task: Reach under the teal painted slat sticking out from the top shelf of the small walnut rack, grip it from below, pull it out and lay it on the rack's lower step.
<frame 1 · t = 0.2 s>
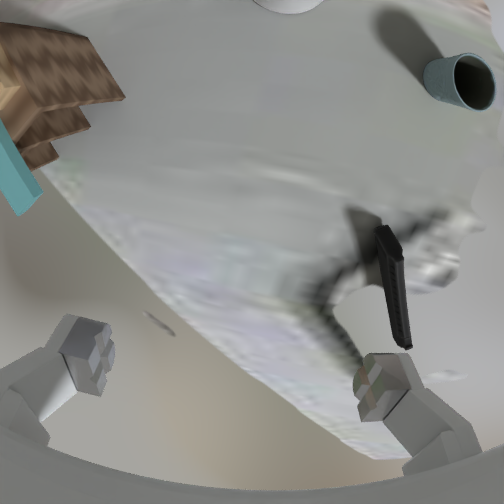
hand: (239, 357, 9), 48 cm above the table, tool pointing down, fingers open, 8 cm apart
magazine: (388, 282, 65), on the table
rack: (68, 99, 46), on the table
blue grey cup: (439, 80, 44), on the table
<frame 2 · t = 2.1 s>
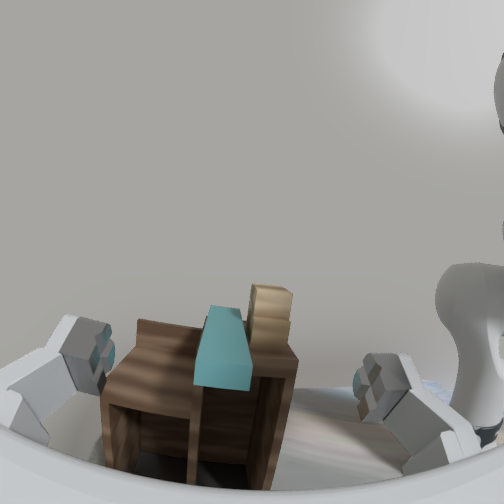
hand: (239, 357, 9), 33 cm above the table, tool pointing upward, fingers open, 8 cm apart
rack: (189, 484, 36), on the table
slat: (222, 344, 32), point 26 cm above the table, touching rack
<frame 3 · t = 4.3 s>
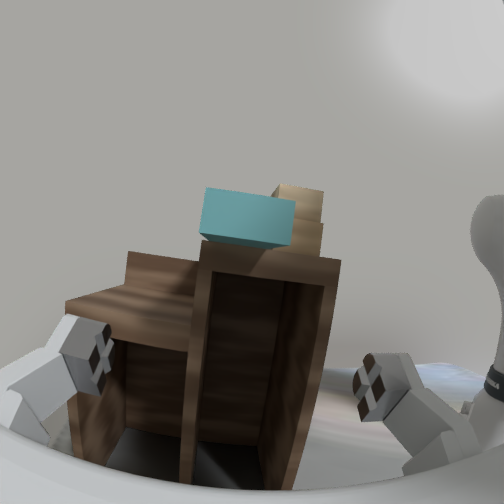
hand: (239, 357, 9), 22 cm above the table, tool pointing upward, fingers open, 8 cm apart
rack: (185, 469, 29), on the table
slat: (236, 246, 24), point 26 cm above the table, touching rack
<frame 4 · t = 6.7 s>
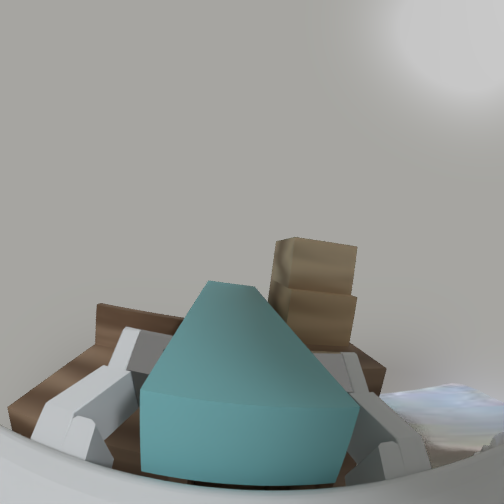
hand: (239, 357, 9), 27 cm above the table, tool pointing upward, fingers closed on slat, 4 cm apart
slat: (230, 341, 16), point 26 cm above the table, touching gripper, rack
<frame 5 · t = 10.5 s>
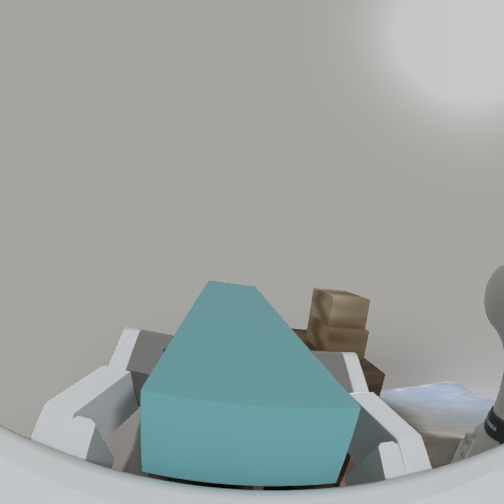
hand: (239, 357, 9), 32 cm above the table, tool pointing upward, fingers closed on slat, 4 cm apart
slat: (230, 341, 16), point 30 cm above the table, touching gripper
when the fingers open (23 cm above the table, at t = 14.3 s): slat drops 1 cm, resting on rack.
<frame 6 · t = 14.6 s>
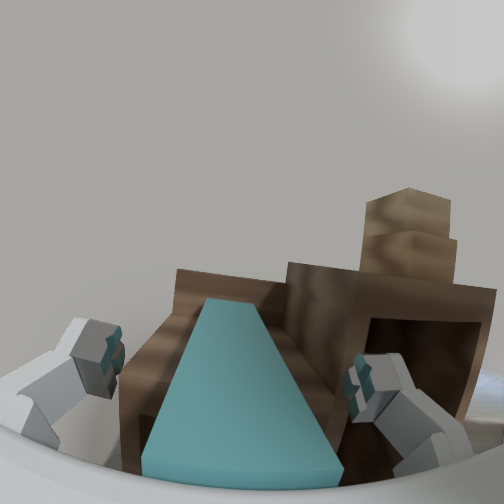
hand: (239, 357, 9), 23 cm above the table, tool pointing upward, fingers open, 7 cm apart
slat: (228, 368, 16), point 20 cm above the table, touching rack
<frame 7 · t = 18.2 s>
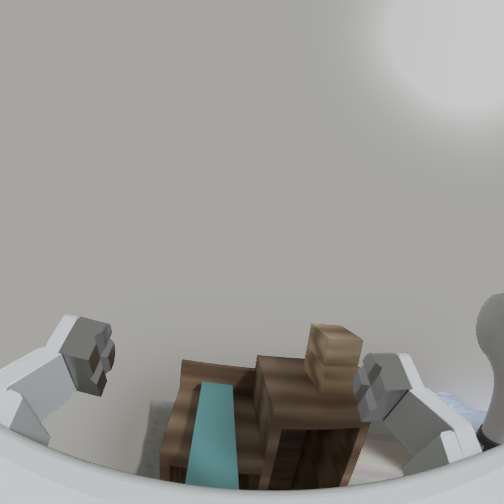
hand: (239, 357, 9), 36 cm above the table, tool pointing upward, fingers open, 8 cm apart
slat: (213, 440, 27), point 20 cm above the table, touching rack
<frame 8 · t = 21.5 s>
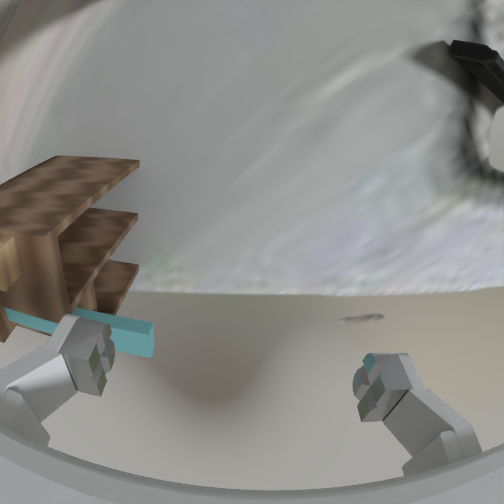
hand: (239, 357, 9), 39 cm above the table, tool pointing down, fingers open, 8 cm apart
magazine: (502, 93, 36), on the table
rack: (96, 213, 48), on the table
slat: (73, 317, 34), point 20 cm above the table, touching rack
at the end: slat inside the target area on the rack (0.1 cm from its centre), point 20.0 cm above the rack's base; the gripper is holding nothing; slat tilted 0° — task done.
